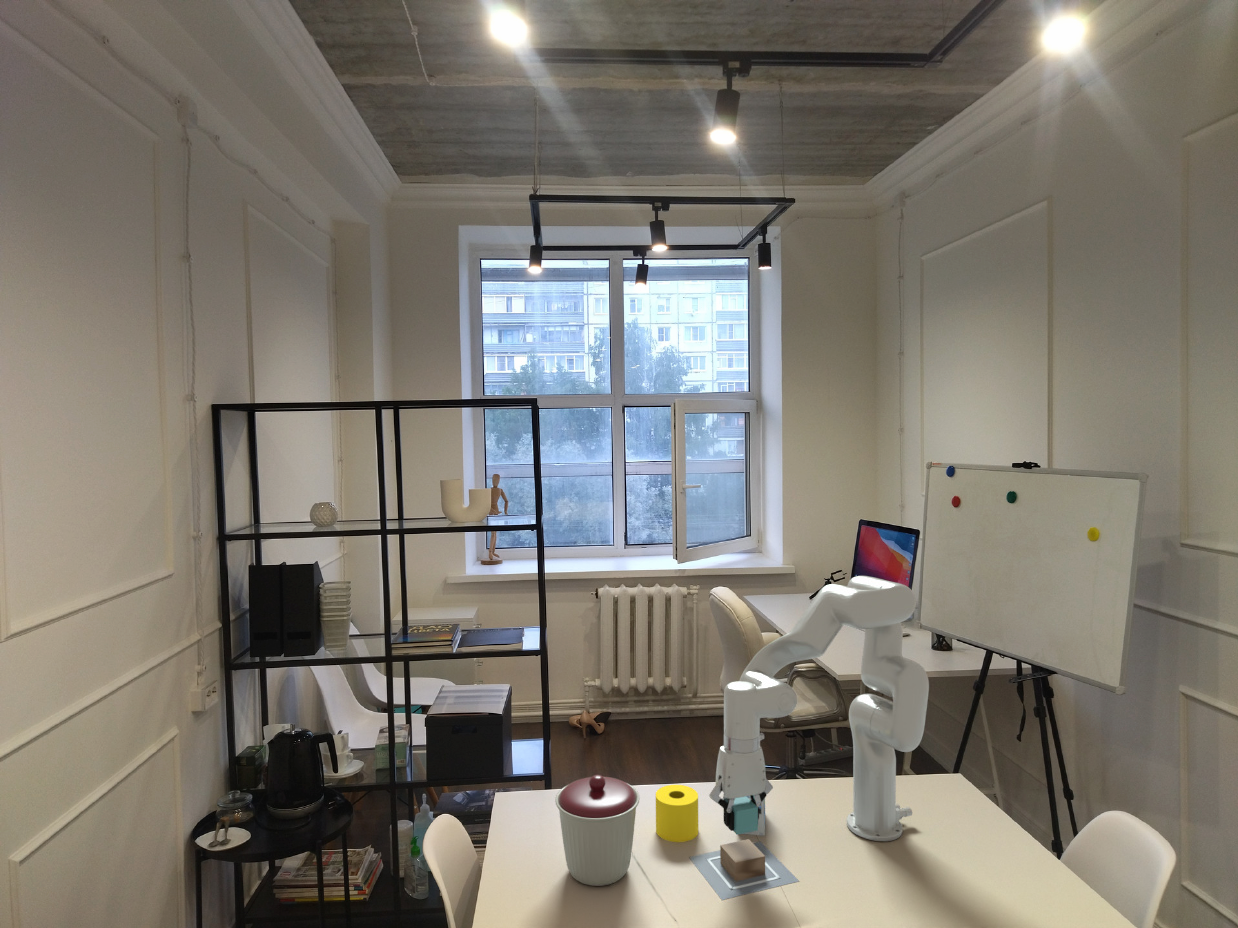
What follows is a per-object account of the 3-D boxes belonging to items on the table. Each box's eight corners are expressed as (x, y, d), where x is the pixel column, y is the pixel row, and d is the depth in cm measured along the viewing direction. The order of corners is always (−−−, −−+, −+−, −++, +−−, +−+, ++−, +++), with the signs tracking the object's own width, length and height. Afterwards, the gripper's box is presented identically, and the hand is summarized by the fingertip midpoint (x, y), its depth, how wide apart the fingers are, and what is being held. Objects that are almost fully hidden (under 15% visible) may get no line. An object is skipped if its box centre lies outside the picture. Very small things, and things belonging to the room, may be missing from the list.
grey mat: (760, 844, 169) (760, 840, 169) (799, 884, 154) (799, 880, 154) (688, 860, 163) (688, 856, 163) (721, 903, 148) (721, 899, 148)
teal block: (746, 818, 161) (746, 796, 161) (757, 830, 157) (757, 807, 156) (725, 822, 160) (725, 799, 159) (736, 834, 155) (736, 811, 155)
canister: (565, 904, 149) (564, 802, 148) (549, 855, 166) (548, 763, 165) (651, 888, 153) (650, 789, 152) (627, 842, 171) (626, 753, 170)
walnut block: (748, 856, 163) (748, 838, 163) (765, 874, 156) (765, 855, 156) (720, 862, 161) (720, 844, 161) (735, 881, 154) (735, 862, 154)
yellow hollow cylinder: (698, 823, 179) (697, 785, 178) (698, 846, 169) (698, 805, 168) (657, 821, 180) (656, 783, 179) (654, 844, 170) (654, 804, 169)
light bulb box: (765, 839, 171) (764, 793, 171) (735, 836, 173) (735, 791, 172) (765, 815, 182) (765, 772, 181) (737, 813, 183) (737, 770, 183)
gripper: (767, 729, 164) (767, 810, 164) (697, 740, 158) (697, 823, 159) (785, 742, 157) (785, 826, 157) (713, 754, 151) (713, 841, 152)
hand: (741, 824), depth 158 cm, fingers closed on teal block, 5 cm apart
